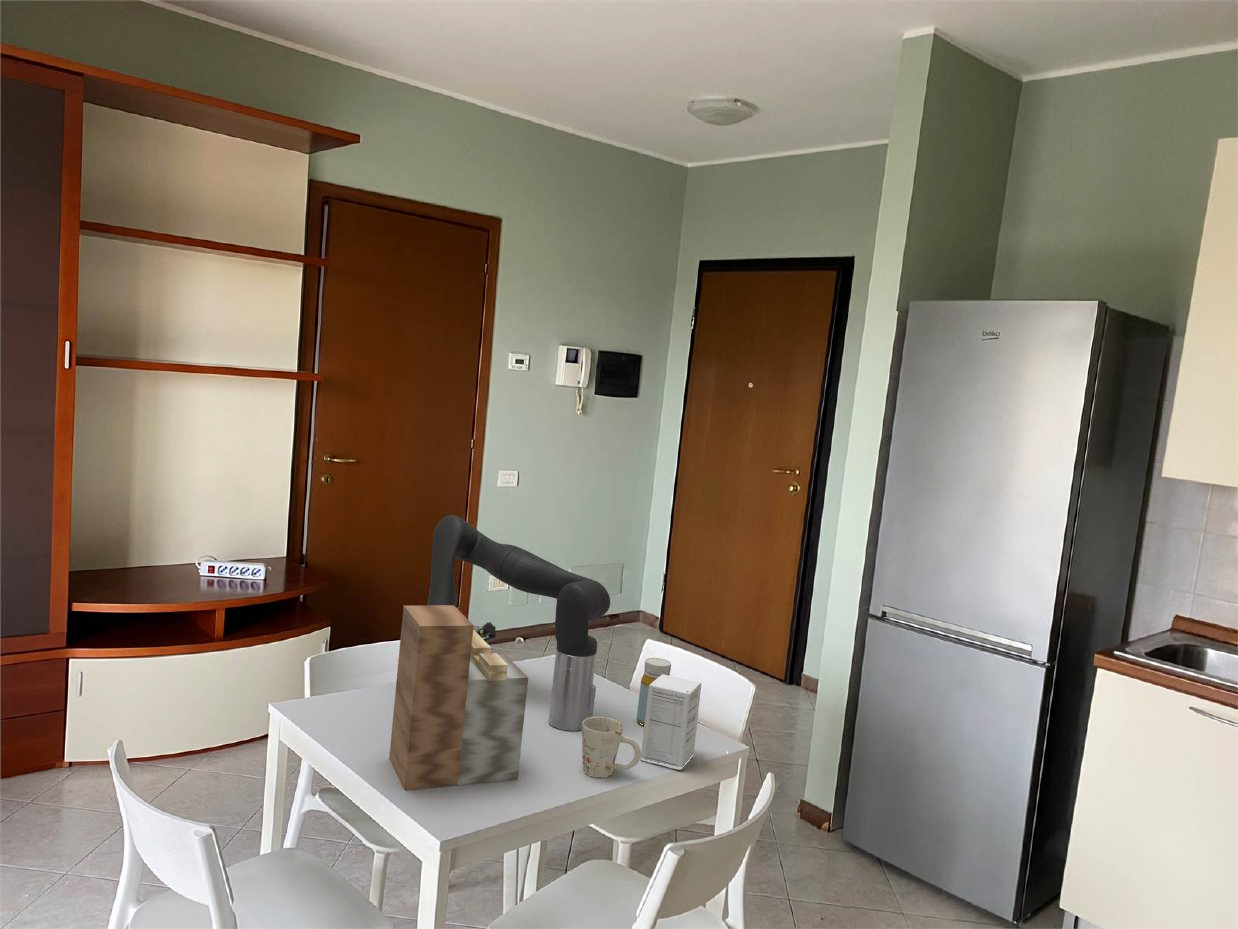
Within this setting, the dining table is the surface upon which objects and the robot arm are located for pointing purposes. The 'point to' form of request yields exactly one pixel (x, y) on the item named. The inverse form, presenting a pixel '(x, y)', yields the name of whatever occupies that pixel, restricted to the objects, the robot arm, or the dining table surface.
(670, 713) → the supplement box
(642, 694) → the bottle
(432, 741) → the step shelf
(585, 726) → the mug
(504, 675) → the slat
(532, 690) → the dining table surface
